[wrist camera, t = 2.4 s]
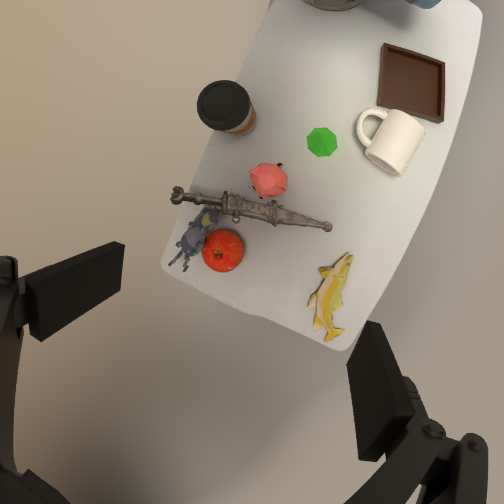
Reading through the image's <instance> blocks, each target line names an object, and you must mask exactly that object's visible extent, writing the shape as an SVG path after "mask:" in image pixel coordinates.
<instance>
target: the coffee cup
mask: <svg viewBox="0 0 504 504" xmlns="http://www.w3.org/2000/svg"><path fill="white" fill-rule="evenodd" d="M197 112H198V114H199V117H200V119H201V120H202V121H203V122H204V123H205V124H206V125H207V126H208V127H210V128H212V129H214V130H219V131H223V132H226V133H229V134H234V135H239V136H241V135H246V134H248V133H249V132H251V131H252V130H253V129H254V127H255V125H256V121H257V117H256V113H255V110H254V108H253V106H252V103H251V101H250V98H249V95H248V93H247V91H246V90H245V89H244V88H243V87H242V86H240V85H239V84H237V83H236V82H233V81H228V80H221V81H215V82H213V83H211V84H209V85H208V86H206V87H205V88H204V89H203V90H202V92H201V93H200V95H199V97H198V101H197Z"/></svg>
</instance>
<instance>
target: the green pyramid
mask: <svg viewBox="0 0 504 504" xmlns="http://www.w3.org/2000/svg"><path fill="white" fill-rule="evenodd" d="M307 142H308V149H309V150H310V151H312V152H313V153H314V154H315V155H316V156H317V157H319V156H330V155H331V154H332V153H333V151H334V150H335V149H336V148H337V141H336V135H335V134H333V133H332V132H331V131H330V130H329V129H328V128H315V129H314V130H313V131H312V132H311V133H310V134H309V135H308V136H307Z"/></svg>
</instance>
